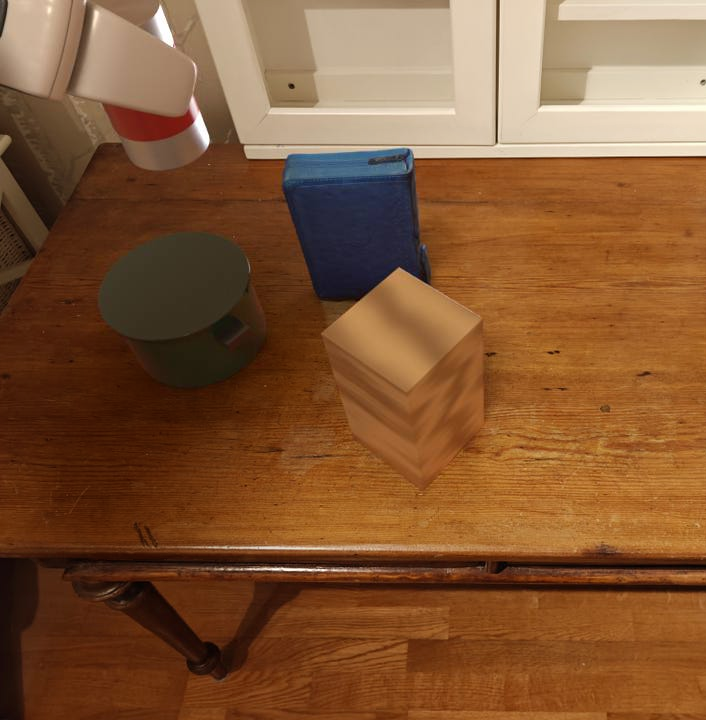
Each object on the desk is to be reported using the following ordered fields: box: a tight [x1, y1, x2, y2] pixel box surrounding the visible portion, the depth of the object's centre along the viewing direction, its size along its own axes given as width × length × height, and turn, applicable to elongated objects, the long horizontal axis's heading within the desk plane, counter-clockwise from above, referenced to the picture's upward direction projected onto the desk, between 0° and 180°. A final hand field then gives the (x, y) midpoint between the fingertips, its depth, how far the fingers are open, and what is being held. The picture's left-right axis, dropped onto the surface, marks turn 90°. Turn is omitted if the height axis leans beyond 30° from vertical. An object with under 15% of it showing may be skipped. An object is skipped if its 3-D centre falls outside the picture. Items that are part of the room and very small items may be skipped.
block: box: [320, 268, 485, 492], centre depth 68 cm, size 10×10×18 cm
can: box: [89, 0, 210, 172], centre depth 52 cm, size 6×6×11 cm
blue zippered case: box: [281, 147, 432, 301], centre depth 79 cm, size 14×5×20 cm, turn 94°
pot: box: [97, 230, 268, 389], centre depth 79 cm, size 16×20×9 cm
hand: (146, 74), depth 52 cm, fingers closed on can, 6 cm apart
